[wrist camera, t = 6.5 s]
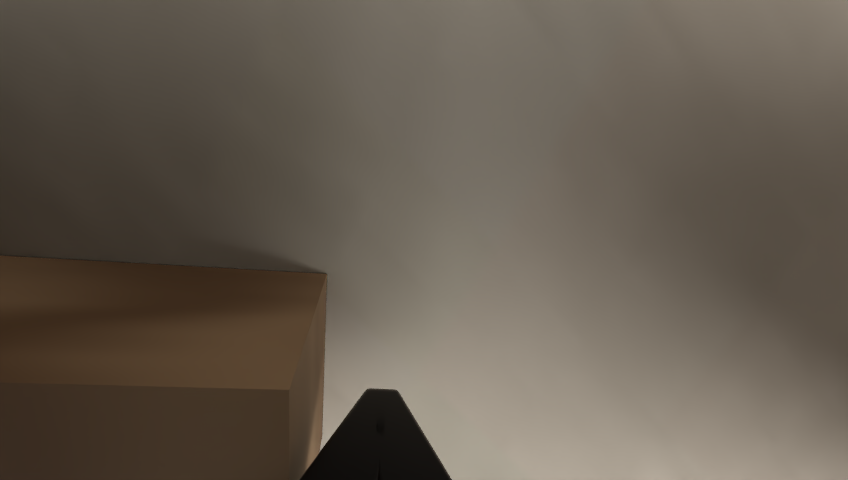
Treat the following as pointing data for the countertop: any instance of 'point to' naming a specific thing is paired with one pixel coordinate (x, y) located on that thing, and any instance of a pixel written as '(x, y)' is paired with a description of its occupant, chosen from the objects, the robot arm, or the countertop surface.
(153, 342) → the t block
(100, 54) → the countertop surface
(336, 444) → the robot arm
